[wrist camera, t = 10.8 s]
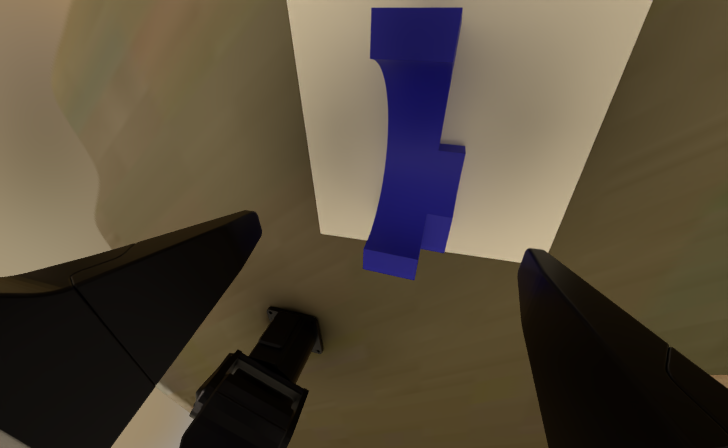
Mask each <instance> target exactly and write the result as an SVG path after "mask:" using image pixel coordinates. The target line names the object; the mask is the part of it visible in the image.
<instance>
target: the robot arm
mask: <svg viewBox="0 0 728 448" xmlns="http://www.w3.org/2000/svg"><path fill="white" fill-rule="evenodd" d="M261 235H262V229H261V225H260V222H259V218H258V215H257V213H256V212H254V211H247V210H244V211H241V212H237V213H234V214H231V215H227V216H224V217H221V218H217V219H214V220H211V221H207V222H204V223H201V224H197V225H194V226H191V227H187V228H184V229H181V230H177V231H174V232H171V233H167V234H164V235H161V236H157V237H154V238H151V239H147V240H144V241H140V242H137V243H136V244H135V243H134V244H130V245H127V246H124V247H120V248H117V249H113V250H110V251H106V252H103V253H100V254H96V255H92V256H89V257H85V258H81V259H77V260H74V261H70V262H66V263H62V264H58V265H54V266H51V267H47V268H44V269H40V270H36V271H32V272H28V273H24V274H19V275H14V276H8V277H0V448H111V446H112V445H113V444H114V442H115V441H116V440H117V438H118V437H119V436H120V434H121V432H122V431H123V430H124V429H125V427H126V426H127V425H128V423H129V422H130V421H131V419H132V417H134V415H135V414H136V412H137V411H138V410H139V408H140V407H141V406H142V404H143V403H144V401H145V400H146V399H147V397H148V396H149V395H150V393H151V392H152V391H153V389H154V388H155V385H157V383H158V382H159V381H160V379H161V378H162V377H163V375H164V374H165V373H166V371H167V370H168V369H169V367H170V366H171V364H172V363H173V362H174V360H175V359H176V358H177V356H178V355H179V354H180V352H181V351H182V350H183V348H184V347H185V345H186V344H187V343H188V341H189V340H190V339H191V337H192V336H193V335H194V333H195V332H196V330H197V329H198V328H199V326H200V325H201V324H202V322H203V321H204V320H205V318H206V317H207V316H208V314H209V313H210V311H211V310H212V309H213V307H214V306H215V305H216V303H217V302H218V301H219V299H220V298H221V297H222V295H223V294H224V292H225V291H226V290H227V288H228V287H229V286H230V284H231V283H232V282H233V280H234V279H235V278H236V276H237V275H238V273H239V272H240V271H241V269H242V268H243V266H244V264H245V263H246V261H247V259H248V258H249V256H250V254H251V253H252V251H253V249H254V248H255V246H256V244H257V243H258V241H259V239H260V237H261ZM518 288H519V300H520V312H521V322H522V328H523V333H524V338H525V342H526V347H527V352H528V356H529V361H530V365H531V370H532V374H533V379H534V383H535V388H536V393H537V397H538V402H539V406H540V411H541V415H542V420H543V424H544V429H545V434H546V438H547V443H548V447H549V448H728V388H727V387H725V386H724V385H723V384H721V383H720V382H718V381H717V380H716V379H714V378H713V377H712V376H710V375H709V374H708V373H706V372H705V371H704V370H702V369H701V368H699V367H698V366H697V365H695V364H694V363H693V362H691V361H690V360H689V359H687V358H686V357H685V356H684V355H682V354H681V353H680V352H678V351H677V350H676V349H674V348H673V347H669V345H668V343H666V342H665V341H664V340H662V339H661V338H660V337H658V336H657V335H656V334H654V333H653V332H652V331H650V330H649V329H648V328H646V327H645V326H644V325H642V324H641V323H640V322H639V321H637V320H636V319H635V318H633V317H632V316H631V315H629V314H628V313H627V312H625V311H624V310H623V309H621V308H620V307H619V306H617V305H616V304H615V303H613V302H612V301H611V300H609V299H608V298H607V297H606V296H604V295H603V294H602V293H600V292H599V291H598V290H596V289H595V288H594V287H592V286H591V285H590V284H588V283H587V282H586V281H584V280H583V279H582V278H580V277H579V276H578V275H576V274H575V273H574V272H573V271H571V270H570V269H569V268H567V267H566V266H565V265H563V264H562V263H561V262H559V261H558V260H557V259H555V258H554V257H553V256H551V255H550V254H549V253H547V252H546V251H545V250H542V249H534V248H528V249H527V250H526V251H525V253H524V256H523V259H522V261H521V264H520V267H519V270H518ZM267 314H268V317H269V320H270V324H269V326H268V327H267V329H266V330H265V332H264V333H263V334H262V336H261V337H260V339H259V342H258V343H257V345H256V346H255V347H254V349H253V350H252V352H251V353H250V355H249V356H246V355H245V354H243V353H242V351H240V350H237V351H236V352H235V353H234V354H233V353H229V354H228V355H227V357H226V358H225V359H224V361H223V362H222V363H221V365H220V366H219V367H218V368H217V369H216V371H215V372H214V373H213V374H212V375H211V376H210V377H209V378H208V379H207V380H206V381H205V382H204V383H203V384H202V386H201V387H200V388H199V389H198V390H197V392H196V402H195V404H194V406H193V407H194V408H193V409H192V411H191V413H190V417H192V418H193V419H194V420H193V421H192V423H191V424H190V426H189V427H188V429H187V430H186V431H185V433H184V434H183V436H182V439H181V443H180V447H179V448H287V446H288V444H289V442H290V440H291V437H292V435H293V433H294V430H295V427H296V425H297V422H298V419H299V417H300V414H301V411H302V408H303V406H304V403H305V400H306V398H307V395H308V392H309V390H307V389H305V388H304V389H303V388H301V387H300V386H298V385H296V382H297V380H298V378H299V376H300V374H301V372H302V370H303V368H304V366H305V364H306V362H307V360H308V358H309V356H310V353H311V352H314V353H318V354H321V353H322V352H323V346H322V340H321V335H320V330H319V325H318V320H317V319H316V318H314V317H311V316H307V315H302V314H298V313H294V312H290V311H285V310H281V309H277V308H272V307H269V308H268V310H267Z"/></svg>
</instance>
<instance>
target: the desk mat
mask: <svg viewBox="0 0 728 448" xmlns="http://www.w3.org/2000/svg"><path fill="white" fill-rule="evenodd" d="M652 1H653V0H287V6H288V13H289V20H290V27H291V33H292V40H293V47H294V54H295V61H296V68H297V75H298V81H299V88H300V95H301V102H302V109H303V116H304V122H305V129H306V136H307V143H308V150H309V157H310V163H311V170H312V177H313V184H314V191H315V198H316V204H317V211H318V218H319V225H320V232H321V234H326V235H333V236H340V237H347V238H354V239H361V240H368V237H369V234H370V232H371V229H372V226H373V222H374V219H375V215H376V211H377V207H378V203H379V198H380V194H381V188H382V183H383V176H384V170H385V162H386V152H387V139H388V102H387V92H386V85H385V80H384V76H383V73H382V70H381V68H380V66H379V64H378V63H377V62H376V61H375V60H373V59H370V37H371V8H428V7H463V11H462V24H461V29H460V35H459V40H458V46H457V51H456V57H455V63H454V68H453V74H452V79H451V85H450V90H449V96H448V101H447V107H446V112H445V118H444V124H443V129H442V135H441V140H440V143H441V144H451V145H460V146H465V150H466V155H465V159H464V163H463V168H462V172H461V177H460V182H459V187H458V192H457V197H456V202H455V208H454V214H453V219H452V223H451V227H450V232H449V236H448V240H447V244H446V248H445V252H451V253H458V254H464V255H471V256H478V257H485V258H492V259H499V260H506V261H513V262H520V263H521V261H522V259H523V256H524V253H525V251H526V250H527V249H528V248H534V249H542V250H545V251H546V252H547V253H548V252H549V250H550V247H551V245H552V242H553V240H554V238H555V235H556V233H557V230H558V228H559V226H560V223H561V221H562V218H563V216H564V213H565V211H566V209H567V206H568V204H569V201H570V199H571V197H572V194H573V192H574V189H575V187H576V185H577V182H578V180H579V177H580V175H581V172H582V170H583V168H584V165H585V163H586V160H587V158H588V156H589V153H590V151H591V148H592V146H593V143H594V141H595V139H596V136H597V134H598V131H599V129H600V127H601V124H602V122H603V119H604V117H605V115H606V112H607V110H608V107H609V105H610V102H611V100H612V98H613V95H614V93H615V90H616V88H617V86H618V83H619V81H620V78H621V76H622V74H623V71H624V69H625V66H626V64H627V61H628V59H629V57H630V54H631V52H632V49H633V47H634V45H635V42H636V40H637V37H638V35H639V32H640V30H641V28H642V25H643V23H644V20H645V18H646V16H647V13H648V11H649V8H650V6H651V4H652Z"/></svg>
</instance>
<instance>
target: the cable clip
mask: <svg viewBox="0 0 728 448" xmlns="http://www.w3.org/2000/svg"><path fill="white" fill-rule="evenodd" d="M462 11H463V7H428V8H371V37H370V59H373V60H375V61H376V62H377V63H378V64H379V66H380V68H381V70H382V73H383V76H384V80H385V85H386V92H387V102H388V139H387V152H386V162H385V170H384V176H383V183H382V188H381V194H380V198H379V203H378V207H377V211H376V215H375V219H374V222H373V226H372V229H371V232H370V234H369V237H368V240H367V242H366V245H365V247H364V253H363V269H366V270H370V271H375V272H379V273H383V274H388V275H392V276H397V277H401V278H406V279H410V280H414V279H415V274H416V269H417V264H418V259H419V254H420V249H425V250H430V251H435V252H440V253H444V252H445V248H446V244H447V240H448V236H449V232H450V227H451V223H452V219H453V214H454V208H455V202H456V197H457V192H458V187H459V182H460V177H461V172H462V168H463V163H464V159H465V155H466V150H465V146H460V145H451V144H441V143H440V140H441V135H442V129H443V124H444V118H445V112H446V107H447V101H448V96H449V90H450V85H451V79H452V74H453V68H454V63H455V57H456V51H457V46H458V40H459V35H460V29H461V24H462Z"/></svg>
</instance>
